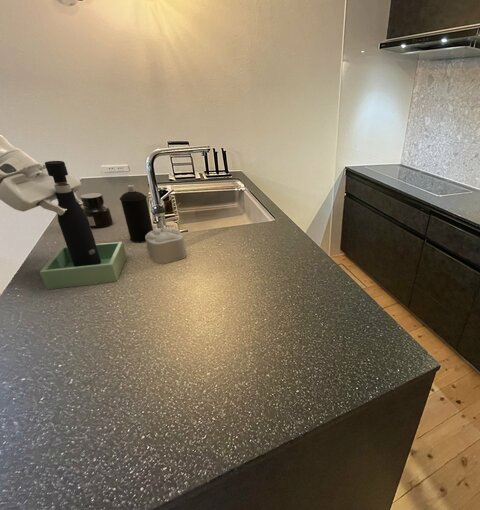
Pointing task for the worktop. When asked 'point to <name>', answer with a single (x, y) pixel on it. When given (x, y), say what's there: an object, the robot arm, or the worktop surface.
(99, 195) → the ink bottle
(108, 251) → the green square tray
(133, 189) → the aerosol can
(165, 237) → the lumpy-topped squat cylinder
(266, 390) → the worktop surface
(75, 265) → the black water bottle
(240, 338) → the worktop surface
